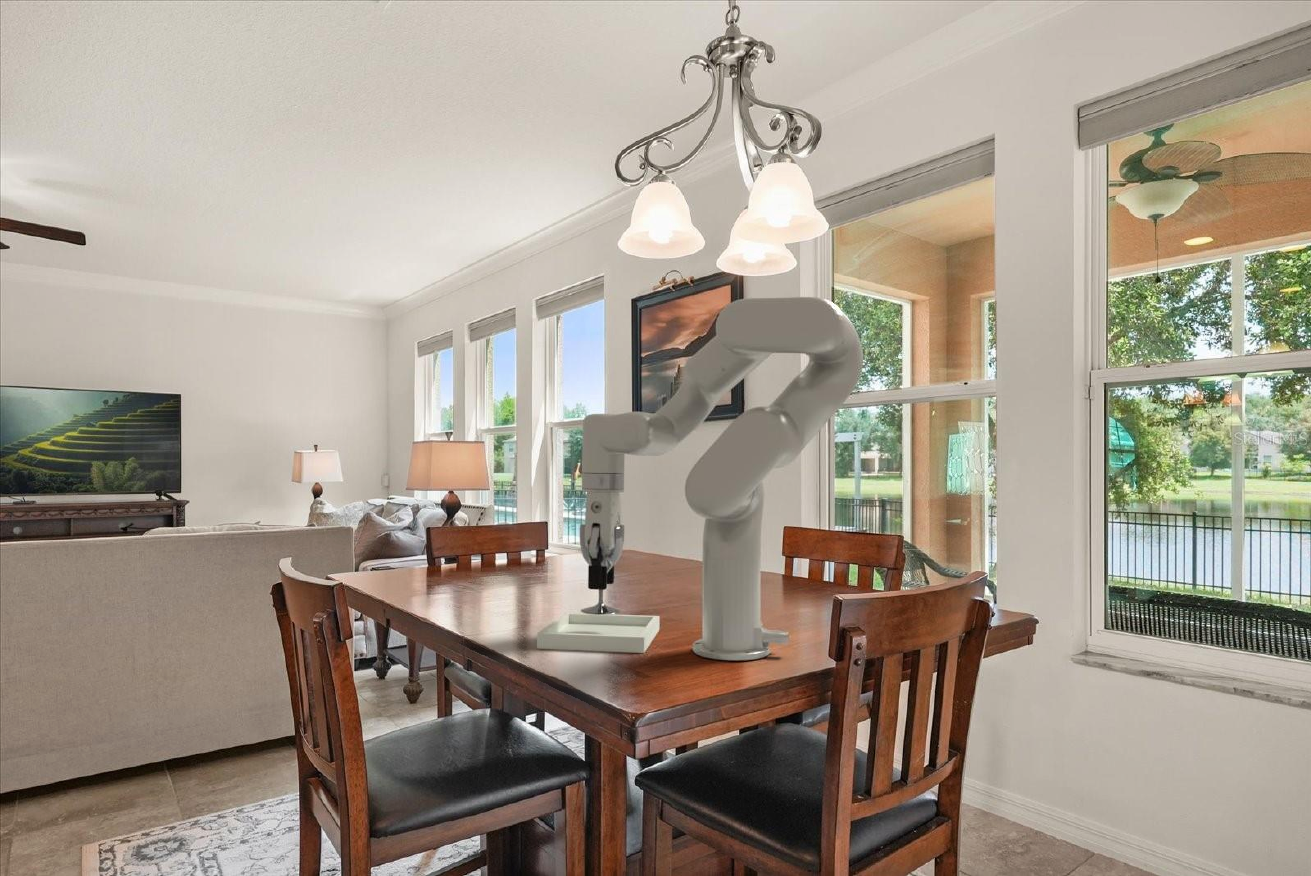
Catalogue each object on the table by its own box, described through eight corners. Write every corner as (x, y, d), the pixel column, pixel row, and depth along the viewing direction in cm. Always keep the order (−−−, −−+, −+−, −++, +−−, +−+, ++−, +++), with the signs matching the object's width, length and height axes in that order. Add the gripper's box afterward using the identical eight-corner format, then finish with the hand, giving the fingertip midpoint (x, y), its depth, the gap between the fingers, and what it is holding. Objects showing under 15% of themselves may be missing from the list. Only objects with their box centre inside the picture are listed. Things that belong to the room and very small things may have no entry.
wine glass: (595, 604, 140) (596, 523, 140) (631, 609, 136) (633, 525, 136) (568, 611, 133) (570, 525, 133) (606, 617, 129) (607, 528, 129)
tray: (659, 629, 142) (659, 616, 142) (644, 653, 124) (644, 637, 124) (565, 626, 144) (565, 612, 144) (537, 648, 126) (537, 633, 127)
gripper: (614, 485, 126) (612, 595, 125) (632, 482, 143) (630, 579, 142) (570, 484, 127) (568, 593, 127) (593, 482, 144) (591, 578, 144)
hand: (601, 585), depth 134 cm, fingers closed on wine glass, 5 cm apart
